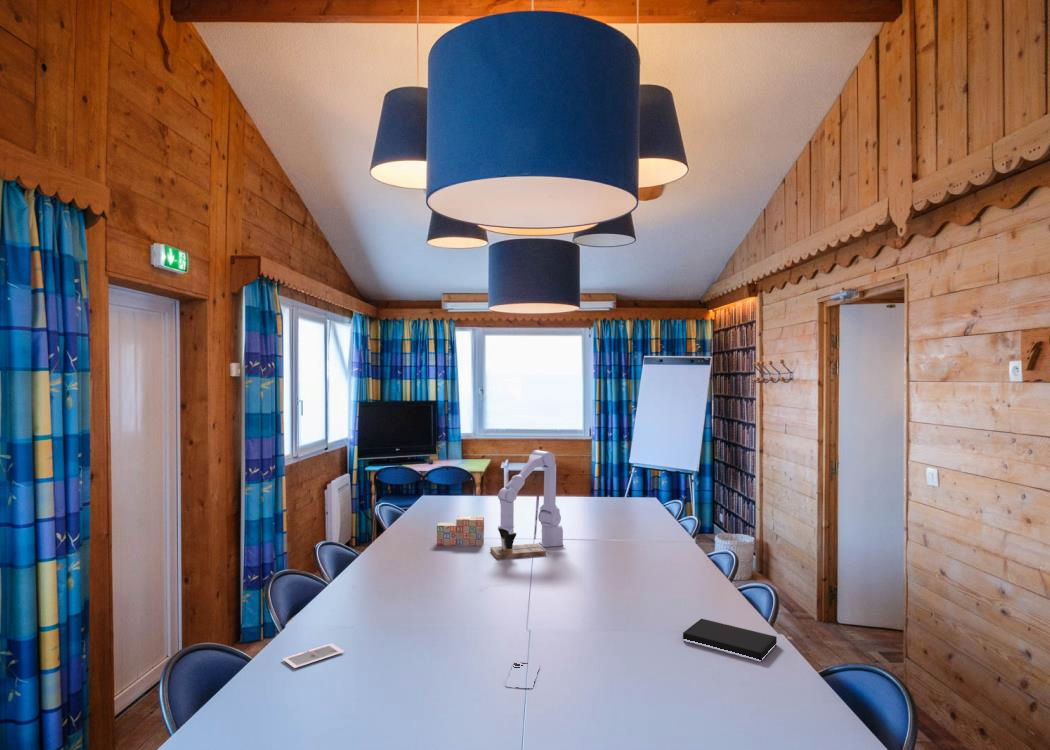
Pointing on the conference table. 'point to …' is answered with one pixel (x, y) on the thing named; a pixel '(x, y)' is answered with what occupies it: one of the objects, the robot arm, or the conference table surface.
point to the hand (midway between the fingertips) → (507, 546)
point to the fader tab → (505, 545)
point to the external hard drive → (730, 638)
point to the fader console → (518, 551)
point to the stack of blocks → (461, 532)
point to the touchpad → (313, 655)
